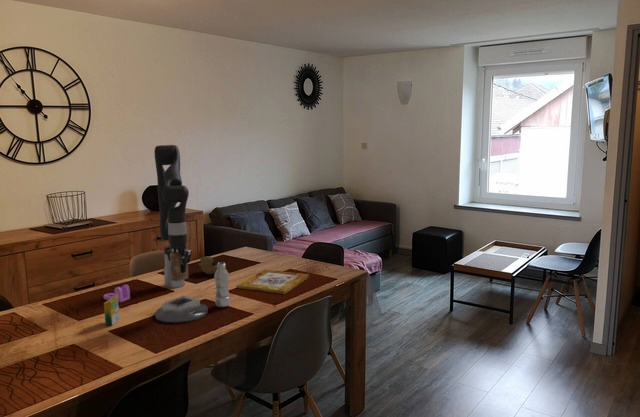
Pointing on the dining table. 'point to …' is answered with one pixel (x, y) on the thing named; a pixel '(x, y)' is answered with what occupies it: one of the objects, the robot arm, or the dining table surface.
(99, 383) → the dining table surface
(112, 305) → the crayon box
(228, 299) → the plastic bottle
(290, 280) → the picture frame
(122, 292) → the bracket
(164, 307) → the grey round socket base
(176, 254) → the tan rectangular block
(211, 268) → the wooden carving
